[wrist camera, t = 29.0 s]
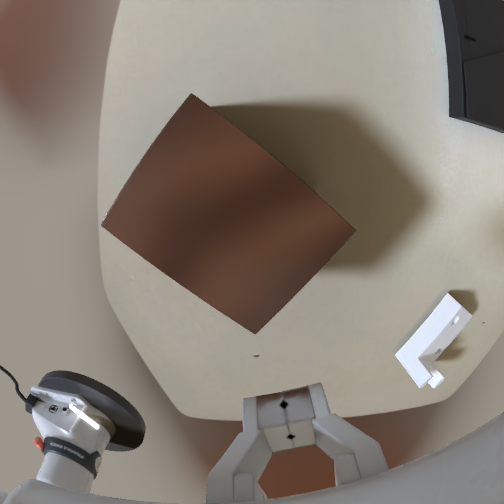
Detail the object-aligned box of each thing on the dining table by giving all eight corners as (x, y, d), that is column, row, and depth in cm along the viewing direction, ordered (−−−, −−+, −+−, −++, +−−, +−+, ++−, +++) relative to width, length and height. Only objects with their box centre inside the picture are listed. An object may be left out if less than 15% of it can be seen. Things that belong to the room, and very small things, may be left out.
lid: (353, 227, 24) (356, 230, 23) (255, 329, 27) (255, 334, 27) (192, 94, 20) (191, 92, 19) (104, 222, 23) (100, 225, 23)
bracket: (412, 359, 46) (435, 388, 40) (394, 354, 43) (419, 387, 37) (460, 303, 42) (487, 330, 36) (447, 292, 39) (478, 322, 33)
